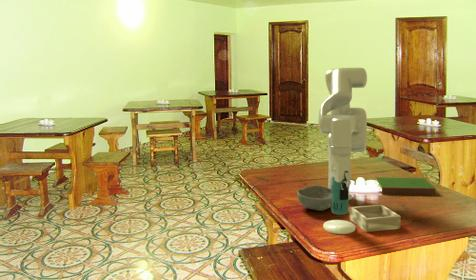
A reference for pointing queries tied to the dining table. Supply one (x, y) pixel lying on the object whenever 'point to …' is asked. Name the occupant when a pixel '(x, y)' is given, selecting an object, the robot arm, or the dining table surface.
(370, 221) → the wooden frame
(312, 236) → the dining table surface
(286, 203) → the dining table surface
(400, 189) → the hardcover book
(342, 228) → the plate
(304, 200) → the bowl
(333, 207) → the beverage bottle
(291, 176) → the dining table surface
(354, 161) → the dining table surface
